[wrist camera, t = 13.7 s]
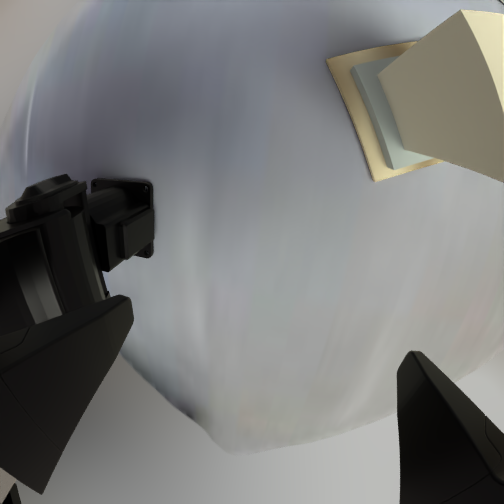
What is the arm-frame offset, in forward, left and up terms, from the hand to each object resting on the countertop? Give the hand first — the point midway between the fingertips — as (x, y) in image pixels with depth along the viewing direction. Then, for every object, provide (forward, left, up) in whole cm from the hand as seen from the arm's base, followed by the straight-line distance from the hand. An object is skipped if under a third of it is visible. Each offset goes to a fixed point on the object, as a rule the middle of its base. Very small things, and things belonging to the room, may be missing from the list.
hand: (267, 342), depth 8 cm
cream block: (+7, +10, -11) cm, 16 cm away
